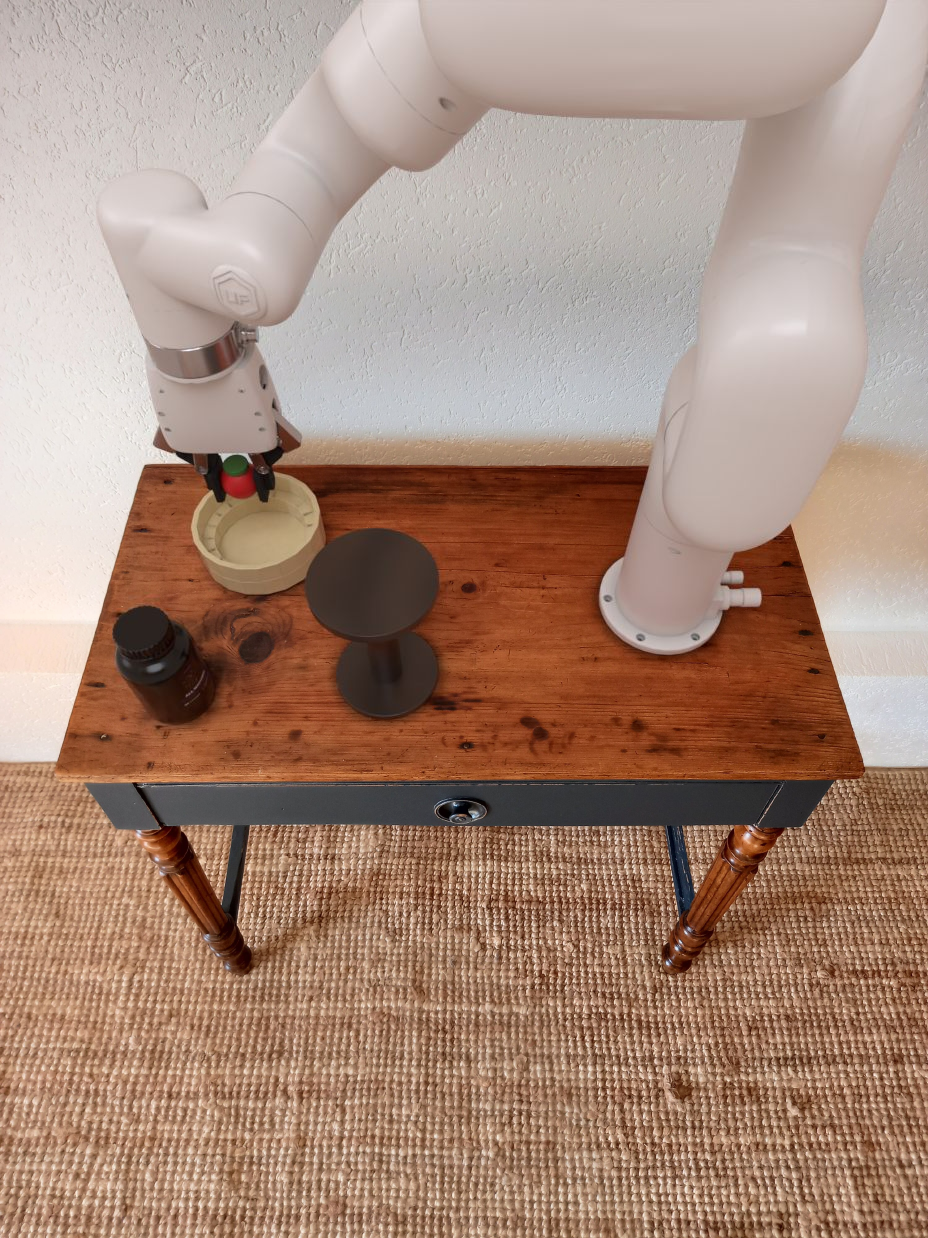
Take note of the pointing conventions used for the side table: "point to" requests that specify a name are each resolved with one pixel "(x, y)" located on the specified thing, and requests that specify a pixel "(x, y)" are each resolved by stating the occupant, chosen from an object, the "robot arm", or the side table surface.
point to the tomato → (238, 477)
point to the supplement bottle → (162, 665)
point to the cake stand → (377, 618)
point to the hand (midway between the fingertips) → (244, 490)
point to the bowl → (260, 537)
